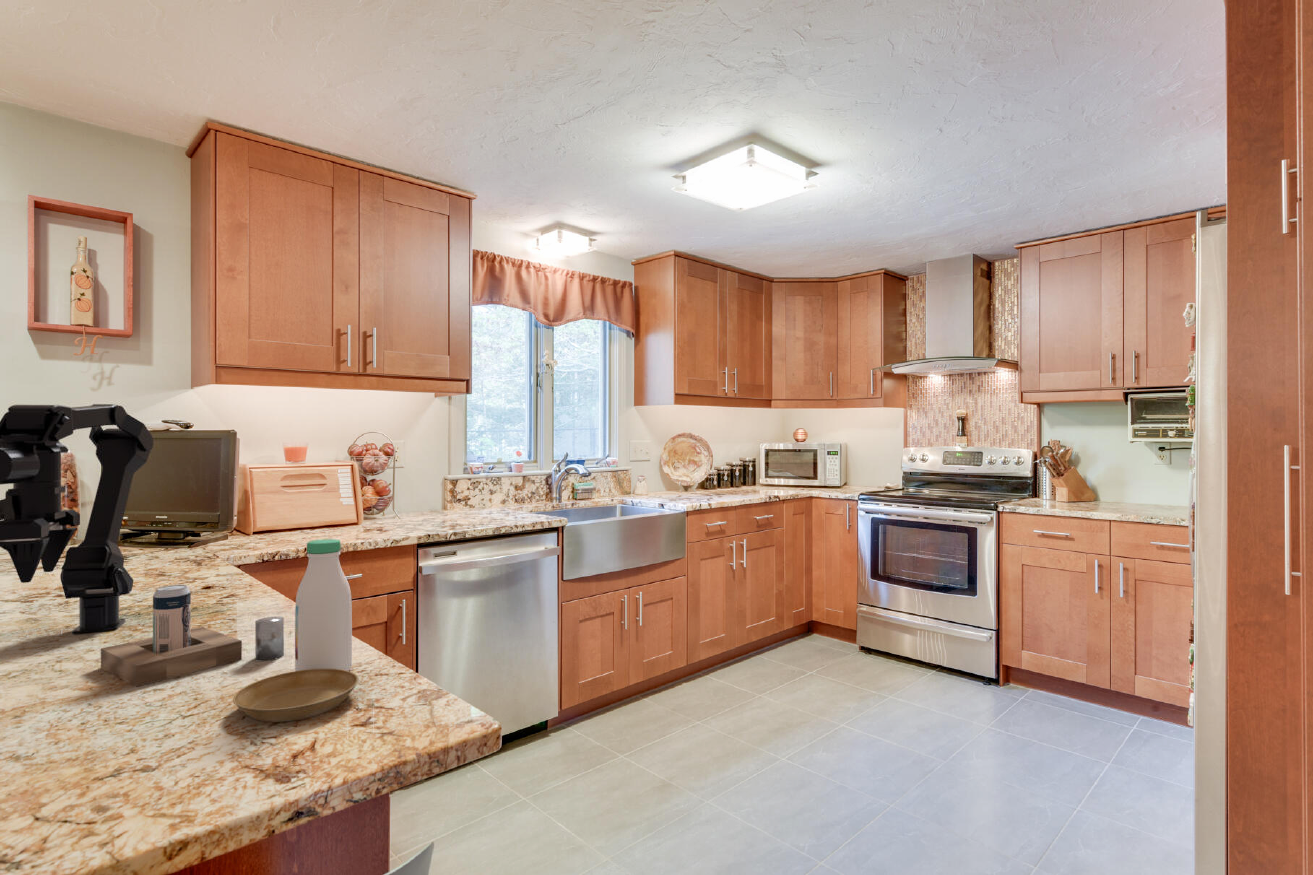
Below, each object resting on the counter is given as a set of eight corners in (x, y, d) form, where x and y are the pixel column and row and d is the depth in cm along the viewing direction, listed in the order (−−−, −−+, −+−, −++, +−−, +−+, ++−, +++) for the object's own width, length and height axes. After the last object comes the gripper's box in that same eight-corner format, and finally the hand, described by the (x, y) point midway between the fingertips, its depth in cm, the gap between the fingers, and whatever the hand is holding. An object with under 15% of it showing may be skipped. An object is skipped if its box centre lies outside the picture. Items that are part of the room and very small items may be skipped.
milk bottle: (363, 666, 103) (363, 538, 103) (323, 684, 95) (323, 546, 95) (324, 661, 105) (324, 536, 105) (282, 677, 98) (282, 543, 98)
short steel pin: (256, 654, 108) (256, 618, 108) (284, 651, 110) (284, 615, 110) (254, 662, 105) (254, 624, 105) (283, 658, 107) (282, 621, 107)
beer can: (195, 661, 105) (195, 586, 105) (159, 670, 101) (160, 592, 101) (183, 656, 108) (183, 582, 108) (148, 664, 104) (148, 588, 104)
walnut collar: (100, 667, 102) (100, 648, 102) (202, 644, 114) (202, 626, 114) (136, 686, 95) (136, 665, 95) (241, 659, 106) (241, 640, 106)
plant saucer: (211, 712, 86) (211, 692, 86) (322, 678, 98) (322, 660, 98) (268, 741, 78) (268, 719, 78) (380, 700, 90) (380, 681, 90)
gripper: (-3, 479, 112) (-3, 571, 112) (-61, 486, 96) (-61, 594, 96) (81, 477, 117) (81, 565, 117) (39, 484, 101) (39, 586, 101)
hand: (37, 576), depth 108 cm, fingers open, 9 cm apart
